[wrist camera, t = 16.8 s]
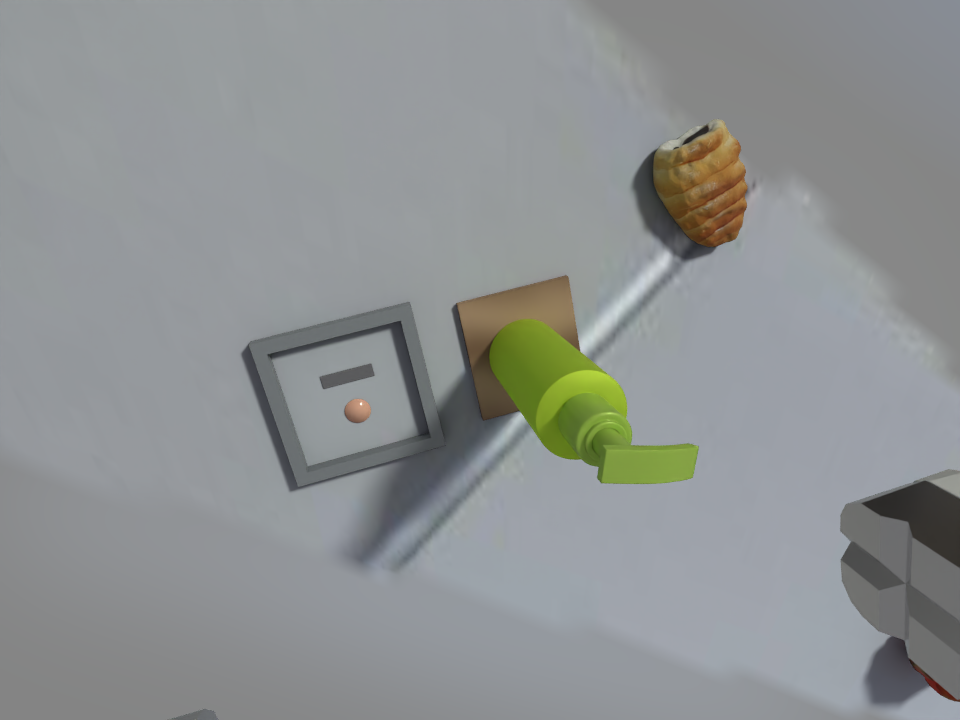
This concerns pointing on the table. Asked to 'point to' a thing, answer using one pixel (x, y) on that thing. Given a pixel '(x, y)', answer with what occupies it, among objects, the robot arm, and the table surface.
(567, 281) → the walnut pad
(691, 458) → the soap dispenser
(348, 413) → the slate frame
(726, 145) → the pastry
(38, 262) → the table surface
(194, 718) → the robot arm
